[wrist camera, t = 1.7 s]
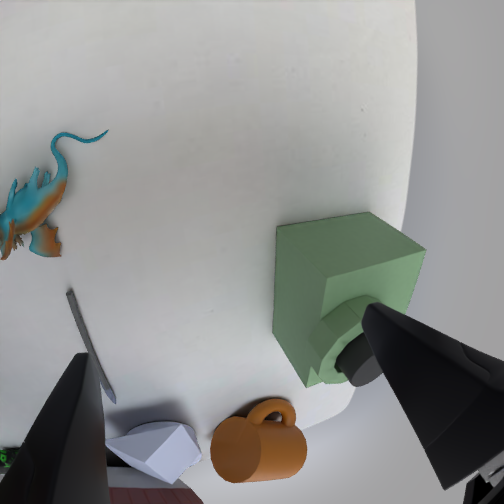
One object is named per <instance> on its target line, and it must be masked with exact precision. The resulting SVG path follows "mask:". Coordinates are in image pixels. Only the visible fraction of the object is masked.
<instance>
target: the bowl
mask: <svg viewBox="0 0 504 504" xmlns="http://www.w3.org/2000/svg"><path fill="white" fill-rule="evenodd" d="M107 477H108V487H109V496H110V504H203V502H202V500H201V499H200V498H199V497H198V496H197V495H196V494H195V492H194V491H193V490H192V489H191V488H189V487H188V486H187V485H186V484H184V483H183V482H182V481H181V480H180V479H177V480H176V481H175V482H174V483H173V484H170V483H167V482H165V481H162V480H160V479H158V478H155V477H153V476H151V475H148V474H146V473H144V472H142V471H140V470H137V469H135V468H130V467H107Z"/></svg>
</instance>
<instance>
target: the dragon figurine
mask: <svg viewBox="0 0 504 504" xmlns="http://www.w3.org/2000/svg"><path fill="white" fill-rule="evenodd" d="M107 132H108V130H107V131H105V132H104V133H102V134H101V135H99V136H98V137H95V138H92V139H82V138H80V137H78V136H75V135H73V134H70V133H59V134H58V135H56V136H55V137H54V138H53V140H52V142H51V151H52V153H53V155H54V156H55V158H56V160H57V163H58V172H57V175H56V177H55V178H54V180H53V181H52V182H51V183H49V180H50V174H48V171H47V172H46V173H45V174H44V180H43V183H42V186H41V188H38V186H37V178H38V176H39V172H40V170H38V168H36V167H35V169H34V171H33V174H32V176H31V178H30V180H29V183H25V185H24V187H23V188H22V189H20V190H19V191H18V192H17V193H16V194H15V189H16V187H17V184H18V183H17V179H15V180H14V182H13V184H12V187H11V189H10V192H9V196H8V202H7V206H6V210H5V211H4V212H3V213H2V214H0V250H1V254H2V256H3V257H2V258H1V260H6V259H7V258H8V256H9V255H10V253H11V249H12V247H13V249H14V251H15V249H17V245H16V244H17V242H18V243H19V245H20V246H21V244H22V246H23V247H24V244H23V241H22V240H21V239H22V238H20V235H22V234H24V235H25V234H26V233H29V232H31V235H32V241H31V244H30V246H29V250H30V251H31V252H33V253H35V254H38V255H40V256H44V257H60V256H61V255H60V246H61V243H55V241H54V239H55V235H56V232H57V230H58V227H57V228H55V229H49V228H48V227H47V224H45V225H42V226H39V225H41V224H43V222H44V220H45V219H46V218H47V217H48V216H49V215H50V213H51V212H52V211H53V210H54V209H55V207H56V206H57V205H58V204H59V203H60V201H61V199H62V195H63V193H64V190H65V187H66V183H67V176H68V168H67V163H66V160H65V159H64V157H63V156H62V155H61V154H60V153H59V151H58V150H57V149H56V148H55V142H56V140H57V139H58V138H60V137H62V136H66V137H71V138H73V139H76V140H78V141H80V142H83V143H91V142H95V141H97V140H99V139H101V138H102V137H103V136H104V135H105V134H106V133H107ZM14 241H15V242H16V243H15V242H14ZM20 243H21V244H20Z"/></svg>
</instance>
